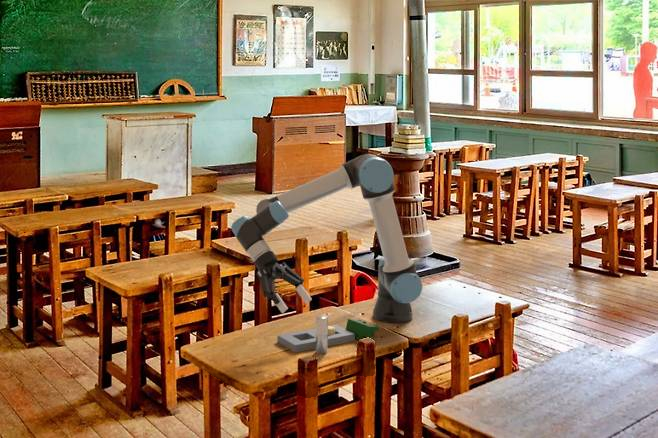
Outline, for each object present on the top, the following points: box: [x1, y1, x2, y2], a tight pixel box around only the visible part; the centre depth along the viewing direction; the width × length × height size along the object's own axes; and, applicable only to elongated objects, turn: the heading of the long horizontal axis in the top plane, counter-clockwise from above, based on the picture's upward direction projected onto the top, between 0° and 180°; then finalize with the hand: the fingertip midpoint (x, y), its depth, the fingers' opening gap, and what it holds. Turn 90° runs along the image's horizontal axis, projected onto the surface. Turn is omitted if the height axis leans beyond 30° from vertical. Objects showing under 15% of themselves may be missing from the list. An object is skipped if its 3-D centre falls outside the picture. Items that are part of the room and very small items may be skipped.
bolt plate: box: [277, 324, 356, 353], centre depth 284 cm, size 24×12×4 cm, turn 122°
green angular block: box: [345, 318, 381, 340], centre depth 289 cm, size 12×6×9 cm
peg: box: [315, 315, 329, 355], centre depth 272 cm, size 4×4×12 cm
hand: (297, 306), depth 276 cm, fingers open, 13 cm apart
